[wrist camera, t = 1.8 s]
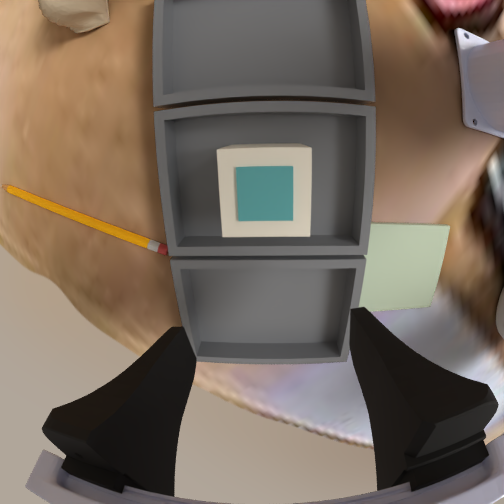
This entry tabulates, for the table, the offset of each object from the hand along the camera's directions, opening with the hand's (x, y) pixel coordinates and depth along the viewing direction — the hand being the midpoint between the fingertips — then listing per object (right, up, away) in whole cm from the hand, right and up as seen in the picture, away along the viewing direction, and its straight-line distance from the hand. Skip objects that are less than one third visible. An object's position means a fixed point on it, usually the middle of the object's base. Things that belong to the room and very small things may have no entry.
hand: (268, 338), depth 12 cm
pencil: (-16, +7, +8) cm, 19 cm away
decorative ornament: (-13, +23, 0) cm, 27 cm away
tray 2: (0, +8, +5) cm, 10 cm away
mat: (+10, +2, +7) cm, 13 cm away
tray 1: (0, +17, +2) cm, 17 cm away
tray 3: (+1, 0, +9) cm, 9 cm away
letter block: (0, +8, +5) cm, 10 cm away
